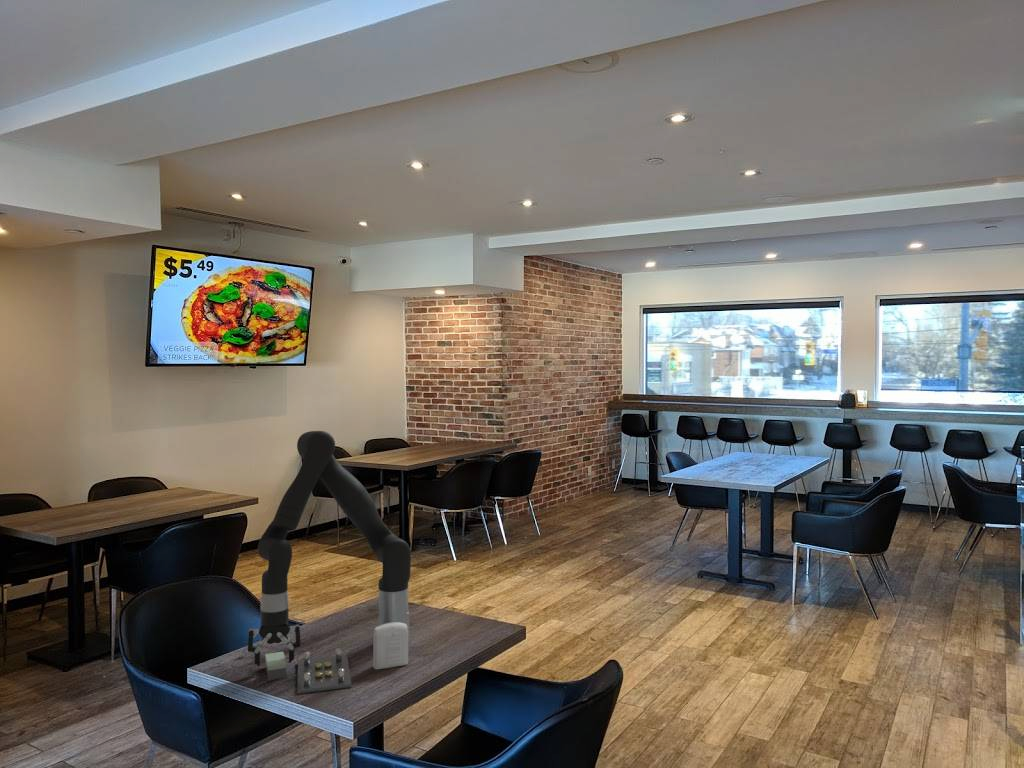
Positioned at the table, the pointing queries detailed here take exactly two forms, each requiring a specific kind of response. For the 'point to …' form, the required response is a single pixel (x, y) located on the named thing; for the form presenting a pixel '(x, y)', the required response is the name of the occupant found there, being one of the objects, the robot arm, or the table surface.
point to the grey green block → (275, 665)
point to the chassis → (323, 673)
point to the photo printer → (390, 645)
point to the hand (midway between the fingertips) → (274, 663)
